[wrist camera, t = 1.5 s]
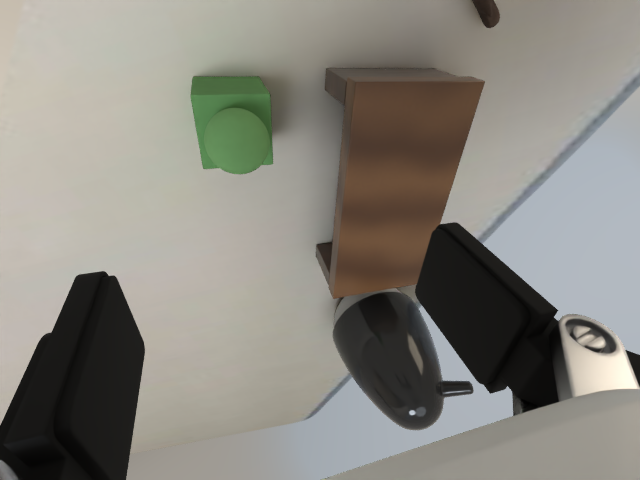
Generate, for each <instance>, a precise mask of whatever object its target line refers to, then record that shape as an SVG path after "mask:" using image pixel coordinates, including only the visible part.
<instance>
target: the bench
mask: <svg viewBox="0 0 640 480" xmlns="http://www.w3.org/2000/svg"><path fill="white" fill-rule="evenodd" d="M484 83H485V81H483V80H480V79H477V78H474V77H458V76H455V75H452V74H449V73H446V72H443V71H440V70H437V69H422V68H326V77H325V90H326V91H327V92H328V93H329V94H331V95H332V96H333V97H334V98H335V99H337V100H338V101H339V102H340V103H342V104H343V105H344V106H345V109H344V120H343V131H342V143H341V154H340V165H339V176H338V188H337V199H336V210H335V221H334V233H333V243H326V244H318V245H316V257H317V259H318V262H319V264H320V267H321V269H322V271H323V274H324V276H325V278H326V281H327V283H328V285H329V290H330V292H331V295H332V297H333V299H335V298H341V297H346V296H352V295H358V294H363V293H369V292H375V291H380V290H386V289H392V288H397V287H403V286H408V285H414V284H417V282H418V278H419V275H420V271H421V268H422V265H423V261H424V258H425V254H426V251H427V248H428V244H429V241H430V237H431V234H432V232H433V231H434V230H435V229H436V227H437V226H438V225H440V222H441V219H442V216H443V213H444V210H445V206H446V203H447V200H448V197H449V194H450V191H451V187H452V184H453V181H454V178H455V175H456V172H457V168H458V165H459V162H460V159H461V156H462V153H463V149H464V146H465V143H466V140H467V137H468V134H469V131H470V127H471V124H472V121H473V118H474V115H475V112H476V108H477V105H478V102H479V99H480V96H481V93H482V89H483V86H484Z"/></svg>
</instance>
